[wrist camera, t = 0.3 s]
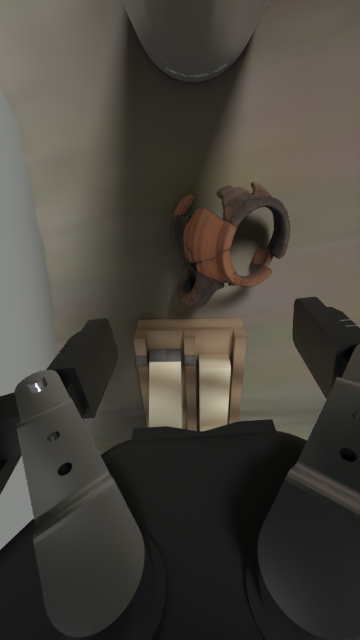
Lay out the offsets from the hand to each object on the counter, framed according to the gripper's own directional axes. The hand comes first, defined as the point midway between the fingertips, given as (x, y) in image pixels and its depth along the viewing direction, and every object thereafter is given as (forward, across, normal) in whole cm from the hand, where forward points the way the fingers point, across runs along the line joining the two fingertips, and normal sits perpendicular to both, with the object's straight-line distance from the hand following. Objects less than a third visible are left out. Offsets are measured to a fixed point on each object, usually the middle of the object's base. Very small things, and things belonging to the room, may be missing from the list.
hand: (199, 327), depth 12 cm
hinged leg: (+11, +5, +20) cm, 23 cm away
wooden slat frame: (+19, +3, +20) cm, 28 cm away
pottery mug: (+18, -2, 0) cm, 18 cm away
